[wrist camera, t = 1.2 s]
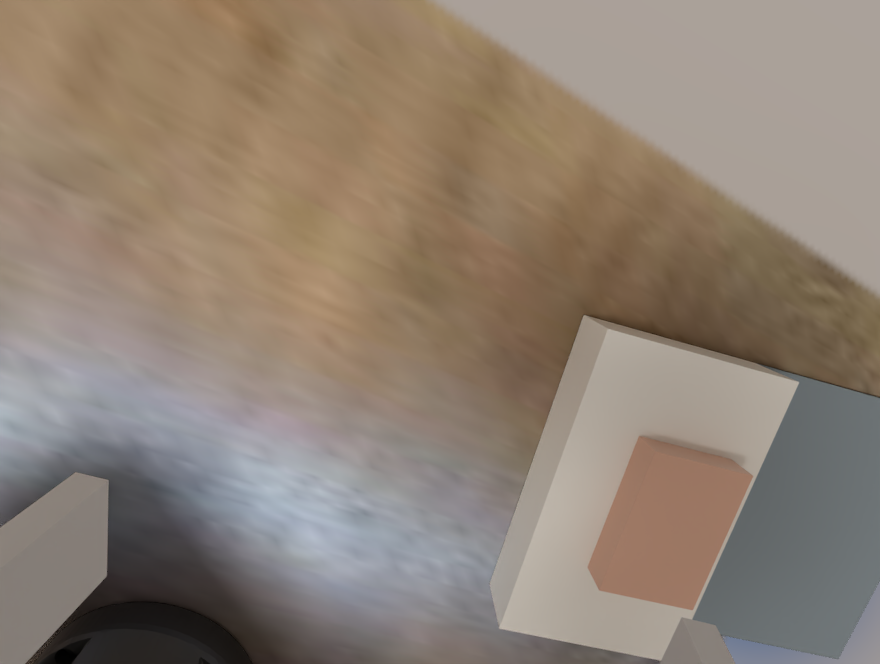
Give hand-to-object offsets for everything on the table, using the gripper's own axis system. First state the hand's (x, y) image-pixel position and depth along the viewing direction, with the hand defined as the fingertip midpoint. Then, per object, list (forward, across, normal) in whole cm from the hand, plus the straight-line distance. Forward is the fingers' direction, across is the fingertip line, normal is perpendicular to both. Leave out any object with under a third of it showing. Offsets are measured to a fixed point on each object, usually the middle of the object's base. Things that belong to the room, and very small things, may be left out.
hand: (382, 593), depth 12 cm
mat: (+24, -27, +9) cm, 37 cm away
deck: (+22, -14, +8) cm, 27 cm away
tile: (+18, -15, +8) cm, 25 cm away
